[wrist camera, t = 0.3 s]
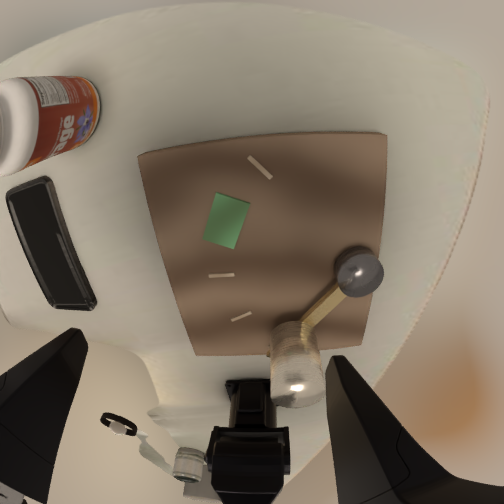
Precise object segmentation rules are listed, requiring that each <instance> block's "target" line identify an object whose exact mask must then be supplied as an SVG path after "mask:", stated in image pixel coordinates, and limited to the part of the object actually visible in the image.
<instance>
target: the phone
mask: <svg viewBox="0 0 504 504" xmlns="http://www.w3.org/2000/svg"><path fill="white" fill-rule="evenodd" d="M6 203H7V207H8V210H9V213H10V216H11V219H12V222H13V225H14V227H15V230H16V233H17V236H18V238H19V241H20V243H21V246H22V248H23V251H24V253H25V255H26V258H27V260H28V262H29V265H30V267H31V269H32V271H33V273H34V275H35V278H36V280H37V282H38V284H39V286H40V288H41V290H42V292H43V294H44V295H45V297H46V299H47V301H48V303H49V304H50V305H51V306H52V307H54V308H56V309H65V310H82V311H92V310H93V309H94V308H95V306H96V304H97V300H96V297H95V295H94V293H93V291H92V289H91V287H90V284H89V282H88V280H87V278H86V275H85V273H84V271H83V268H82V266H81V263H80V261H79V258H78V256H77V253H76V251H75V248H74V246H73V243H72V240H71V238H70V235H69V232H68V229H67V226H66V223H65V220H64V217H63V214H62V211H61V208H60V204H59V201H58V198H57V194H56V191H55V187H54V184H53V181H52V180H51V179H50V178H49V177H47V176H42V177H40V178H37V179H34V180H32V181H29V182H27V183H24V184H22V185H19V186H17V187H14V188H12V189H10V190H9V191H7V193H6Z"/></svg>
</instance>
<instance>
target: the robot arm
mask: <svg viewBox="0 0 504 504" xmlns="http://www.w3.org/2000/svg"><path fill="white" fill-rule="evenodd" d="M87 352H88V343H87V341H86V339H85V337H84V334H83V332H82V331H81V330H80V329H77V328H70V329H68V330H67V331H65V332H64V333H62V334H61V335H59V336H58V337H56V338H55V339H53V340H52V341H50V342H49V343H47V344H46V345H44V346H43V347H41V348H40V349H38V350H37V351H36V352H34V353H33V354H31V355H29V356H28V357H26V358H25V359H24V360H22V361H21V362H19V363H18V364H17V365H15V366H14V367H12V368H11V369H9V370H8V371H7V372H5V373H4V374H2V375H1V376H0V504H27V502H26V500H25V499H23V498H24V495H25V496H28V497H29V498H32V499H34V500H36V501H38V502H41V503H43V504H47V500H48V494H49V488H50V483H51V478H52V474H53V469H54V464H55V460H56V456H57V452H58V448H59V444H60V441H61V437H62V434H63V430H64V427H65V423H66V420H67V417H68V414H69V411H70V407H71V405H72V402H73V399H74V396H75V393H76V390H77V387H78V384H79V381H80V377H81V374H82V370H83V366H84V362H85V359H86V355H87ZM325 379H326V404H327V419H328V425H329V432H330V439H331V445H332V453H333V460H334V468H335V476H336V485H337V493H338V502H339V504H504V486H495V485H488V484H483V483H478V482H474V481H469V480H465V479H461V478H458V477H456V476H454V475H452V474H450V473H449V472H448V471H447V470H445V469H444V468H443V467H442V466H441V465H440V464H439V463H438V462H437V461H436V460H435V459H433V458H432V457H431V456H430V455H429V454H428V453H427V452H426V451H425V450H424V449H423V448H422V447H421V446H420V445H419V444H418V443H417V442H416V441H415V440H414V438H413V437H412V436H411V435H410V434H409V433H408V432H407V431H406V429H405V428H404V427H403V426H402V425H401V423H400V422H399V421H398V420H397V418H396V417H395V416H394V415H393V414H392V412H391V411H390V410H389V409H388V408H387V406H386V405H385V404H384V403H383V402H382V400H381V399H380V398H379V397H378V396H377V394H376V393H375V392H374V391H373V390H372V388H371V387H370V386H369V385H368V384H367V382H366V381H365V380H364V379H363V378H362V376H361V375H360V374H359V373H358V372H357V370H356V369H355V368H354V367H353V366H352V364H351V363H350V362H349V361H348V360H347V358H346V357H345V356H343V355H334V356H332V357H331V359H330V361H329V364H328V366H327V369H326V373H325ZM225 386H226V389H227V392H228V395H229V398H230V401H231V407H230V418H229V427H219V426H214V429H213V431H212V432H211V437H210V441H209V445H208V449H207V451H206V453H205V456H204V461H205V462H206V463H207V467H208V471H209V473H211V485H212V487H213V489H214V491H215V492H216V493H217V495H218V496H219V498H220V499H221V501H222V503H223V504H272V503H273V502H274V501H275V499H276V498H277V496H278V495H279V494H280V492H281V491H282V488H283V484H284V475H290V442H289V427H288V426H287V427H280V428H277V419H276V406H279V405H276V404H275V403H274V402H273V401H272V400H271V380H257V381H226V383H225Z"/></svg>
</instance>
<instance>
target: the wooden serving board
mask: <svg viewBox="0 0 504 504" xmlns="http://www.w3.org/2000/svg"><path fill="white" fill-rule="evenodd" d="M137 158H138V163H139V168H140V172H141V177H142V181H143V186H144V190H145V194H146V199H147V203H148V207H149V211H150V215H151V219H152V222H153V226H154V230H155V234H156V237H157V241H158V244H159V248H160V251H161V255H162V258H163V261H164V265H165V268H166V271H167V275H168V278H169V281H170V284H171V287H172V290H173V293H174V296H175V299H176V302H177V305H178V308H179V311H180V314H181V317H182V320H183V322H184V325H185V328H186V331H187V333H188V336H189V339H190V342H191V344H192V347H193V349H194V352H195V355H196V356H234V355H263V354H267V351H268V350H270V335H271V333H272V331H273V330H274V329H275V328H276V327H277V326H279V325H281V324H283V323H286V322H290V321H298V320H299V319H300V318H301V317H302V316H303V315H304V314H305V313H306V312H307V311H308V310H309V309H310V308H311V307H312V306H313V305H315V304H316V303H317V302H318V301H319V300H320V299H321V298H322V297H323V296H324V295H325V294H326V293H327V292H328V291H329V290H330V289H331V288H332V287H333V286H334V285H335V284H336V283H337V279H336V277H335V274H334V265H335V262H336V260H337V259H338V257H339V256H340V255H341V254H342V253H343V252H344V251H346V250H347V249H350V248H352V247H357V246H363V247H367V248H369V249H371V250H372V251H373V252H374V253H375V255H376V257H377V258H379V251H380V243H381V235H382V226H383V216H384V205H385V191H386V173H387V135H385V134H382V133H377V132H300V133H282V134H268V135H256V136H246V137H236V138H228V139H220V140H213V141H206V142H199V143H193V144H187V145H181V146H175V147H170V148H164V149H159V150H154V151H150V152H145V153H143V154H141V155H139V156H137ZM372 294H373V292H372V293H370V294H369V295H366V296H364V297H358V298H354V297H349V296H346V297H345V298H344V299H343V300H342V301H341V302H340V303H339V304H338V305H337V306H336V307H335V308H334V309H333V310H331V311H330V312H329V313H328V314H327V315H326V316H325V317H324V318H323V319H322V320H321V321H319V322H318V323H317V324H316V325H315V326H314V327H313V328H314V329H315V331H316V336H317V341H318V347H319V350H327V349H336V348H344V347H351V346H359V345H361V344H362V340H363V336H364V332H365V327H366V323H367V318H368V314H369V309H370V304H371V299H372Z"/></svg>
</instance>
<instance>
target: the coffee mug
mask: <svg viewBox="0 0 504 504" xmlns="http://www.w3.org/2000/svg"><path fill="white" fill-rule="evenodd" d="M183 496H184V497H186V498H190V499H194V500H199V501H206V502H221V499H220V498H219V496H218V495H217V493H216V492H215V491H214V489H213V487H212V485H211V473H209V471H208V467H207V465H203V470H202V478H201V481H200V482H196V483H189V482H185V487H184V493H183Z"/></svg>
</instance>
